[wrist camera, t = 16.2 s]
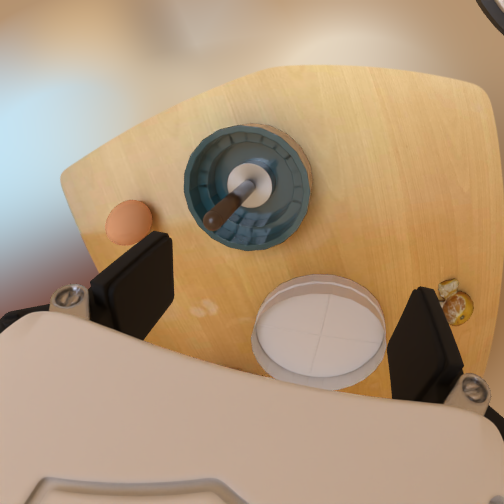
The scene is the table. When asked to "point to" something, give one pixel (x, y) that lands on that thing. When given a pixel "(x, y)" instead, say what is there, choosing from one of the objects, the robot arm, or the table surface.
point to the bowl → (246, 219)
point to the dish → (319, 332)
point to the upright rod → (242, 192)
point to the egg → (128, 222)
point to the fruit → (455, 303)
